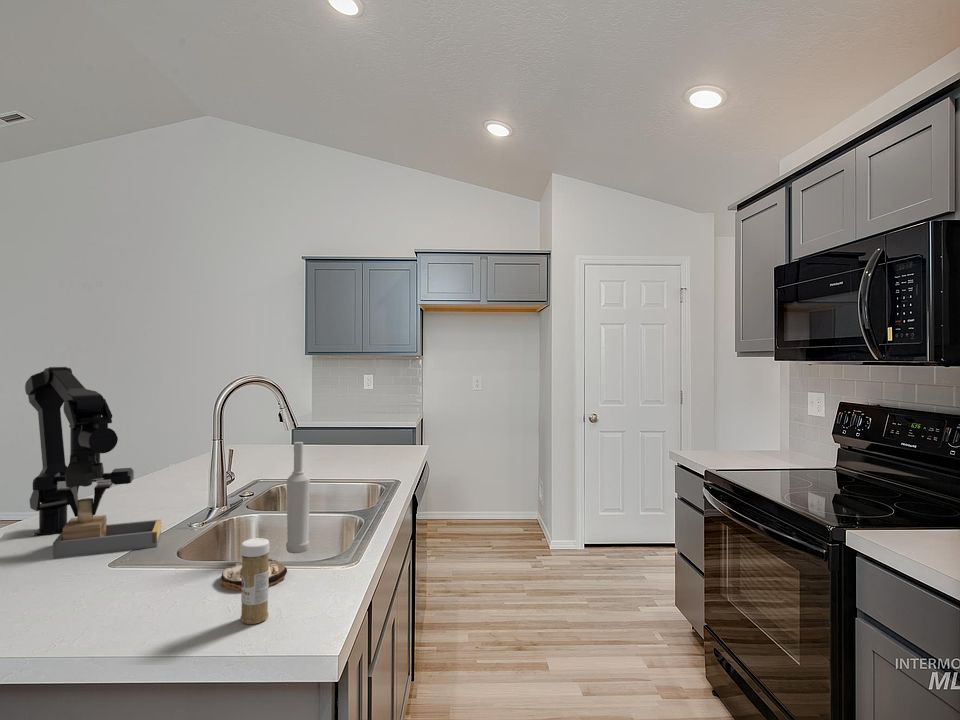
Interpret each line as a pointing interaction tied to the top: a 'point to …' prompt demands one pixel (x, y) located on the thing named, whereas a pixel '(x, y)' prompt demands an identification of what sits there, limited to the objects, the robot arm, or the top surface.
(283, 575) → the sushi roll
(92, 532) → the tan block with peg
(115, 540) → the bay
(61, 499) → the robot arm
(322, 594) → the top surface
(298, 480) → the bottle
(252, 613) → the sprinkles bottle
